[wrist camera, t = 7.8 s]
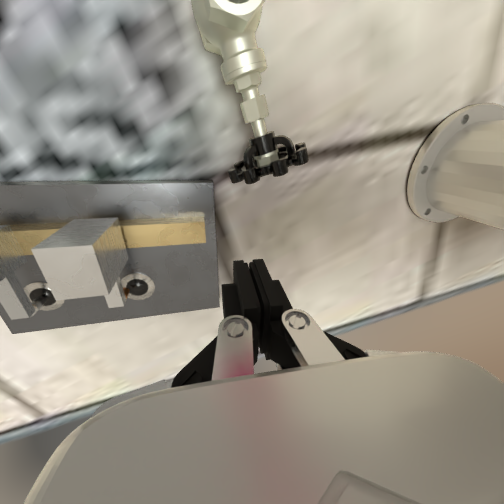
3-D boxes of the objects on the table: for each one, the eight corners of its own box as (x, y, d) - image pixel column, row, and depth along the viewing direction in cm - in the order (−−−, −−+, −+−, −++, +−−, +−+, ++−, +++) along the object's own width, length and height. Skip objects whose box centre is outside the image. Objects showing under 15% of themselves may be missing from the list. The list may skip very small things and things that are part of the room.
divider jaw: (122, 212, 18) (92, 245, 13) (142, 292, 22) (125, 343, 17) (81, 214, 18) (30, 249, 12) (109, 296, 21) (80, 350, 16)
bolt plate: (212, 179, 21) (222, 206, 13) (218, 298, 27) (227, 364, 19) (-63, 182, 16) (-296, 225, 9) (22, 322, 23) (-66, 419, 15)
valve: (163, 0, 15) (227, 176, 21) (144, -84, 9) (239, 192, 15) (255, -30, 15) (291, 152, 21) (291, -130, 9) (327, 158, 15)
